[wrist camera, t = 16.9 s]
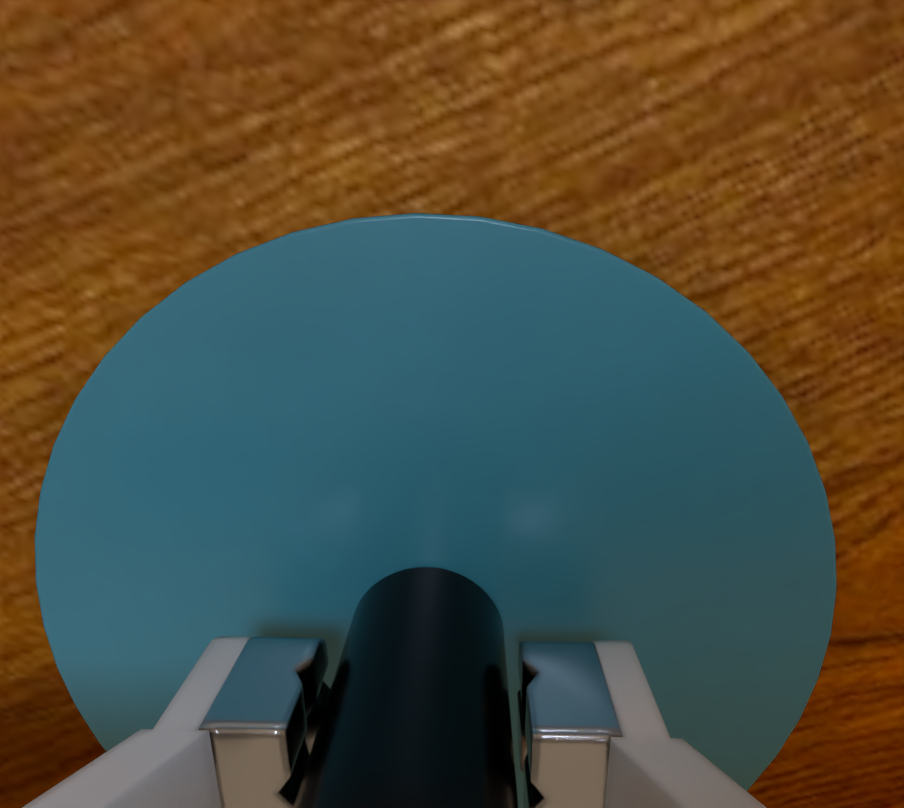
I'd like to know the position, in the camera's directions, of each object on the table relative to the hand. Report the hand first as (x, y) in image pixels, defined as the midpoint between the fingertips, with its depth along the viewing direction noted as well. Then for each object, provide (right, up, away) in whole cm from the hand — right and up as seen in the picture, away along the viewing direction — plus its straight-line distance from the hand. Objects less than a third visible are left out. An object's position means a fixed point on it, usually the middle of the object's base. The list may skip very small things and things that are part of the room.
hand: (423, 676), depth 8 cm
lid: (0, 0, +1) cm, 2 cm away
